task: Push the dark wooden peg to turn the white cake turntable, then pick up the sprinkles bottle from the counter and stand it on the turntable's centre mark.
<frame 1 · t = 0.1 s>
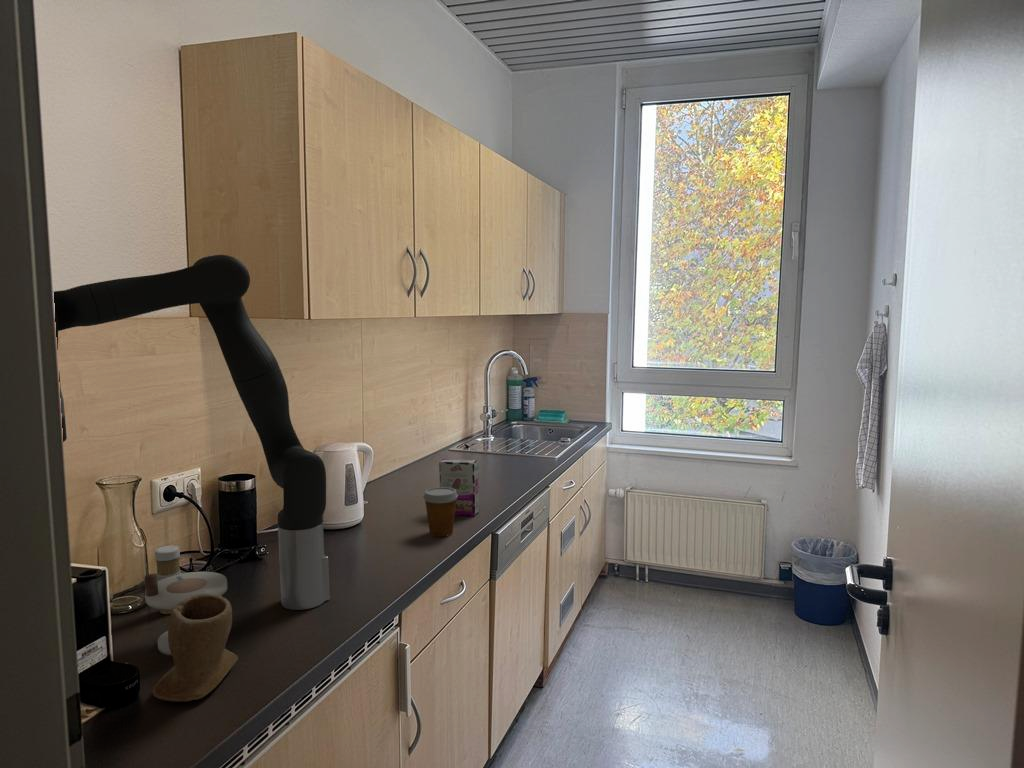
hand: (46, 509, 120), 29 cm above the worktop, tool pointing down, fingers open, 8 cm apart
turntable stand: (190, 641, 134), on the worktop
sprinkles bottle: (171, 611, 148), on the worktop
stone cup: (203, 683, 120), on the worktop
turntable: (186, 580, 133), point 12 cm above the worktop, hinge at 0.0°
disposable coffee cup: (441, 534, 196), on the worktop
candy bar box: (459, 513, 215), on the worktop
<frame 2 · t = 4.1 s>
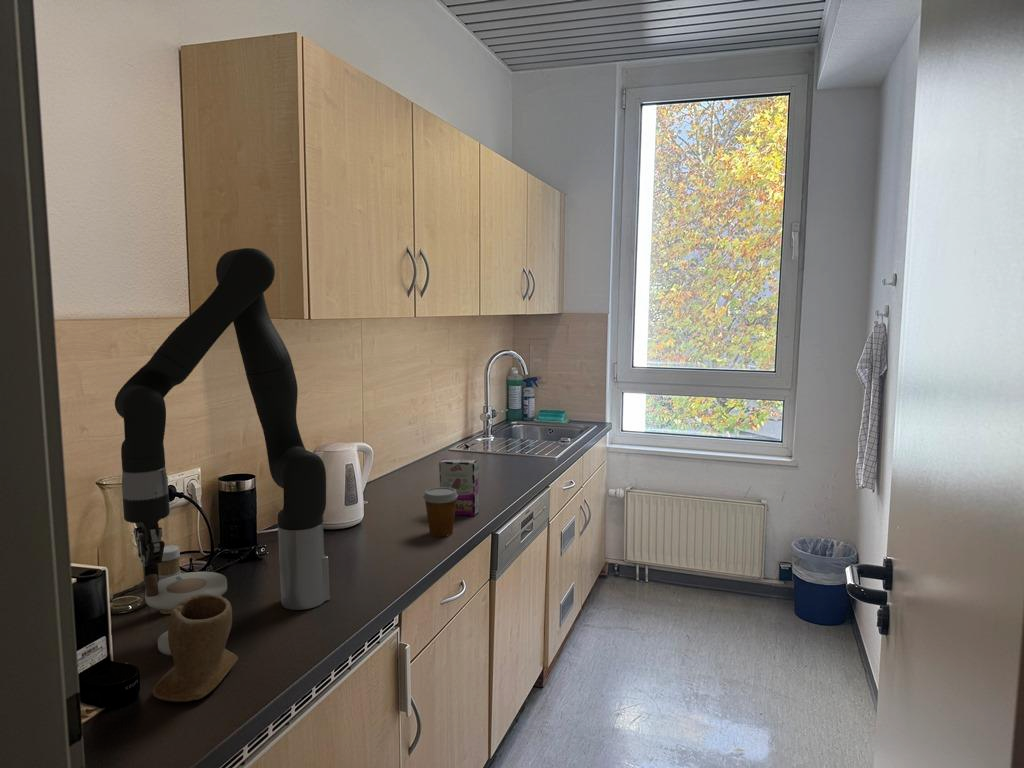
hand: (151, 583, 132), 12 cm above the worktop, tool pointing down, fingers closed
turntable: (186, 580, 133), point 12 cm above the worktop, hinge at 1.8°, touching gripper
everything else where it was.
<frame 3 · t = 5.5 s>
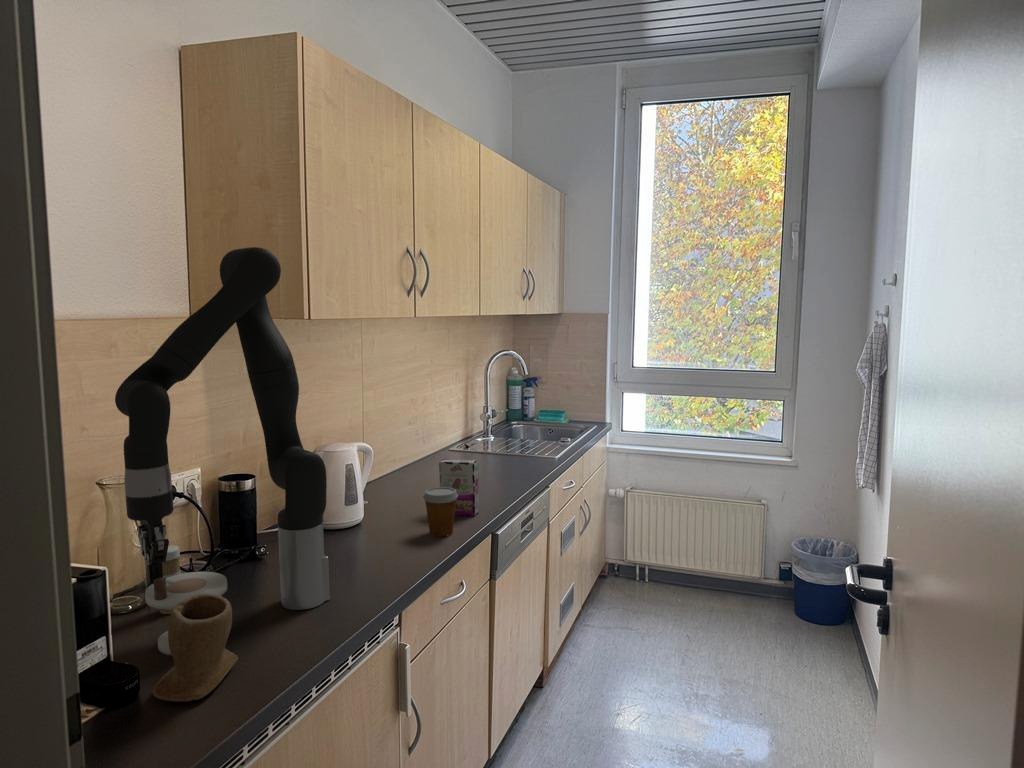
hand: (155, 581, 130), 13 cm above the worktop, tool pointing down, fingers closed
turntable: (186, 580, 133), point 12 cm above the worktop, hinge at 29.2°
everything else where it was.
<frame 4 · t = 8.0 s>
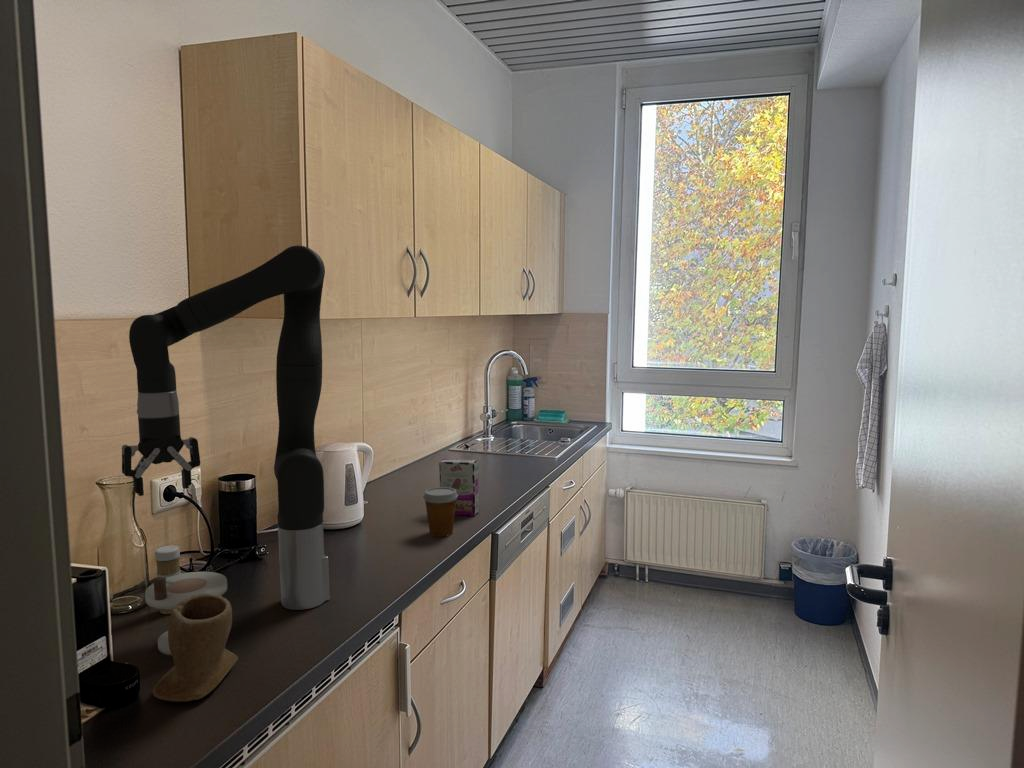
hand: (163, 491, 145), 26 cm above the worktop, tool pointing down, fingers open, 8 cm apart
nothing on the worktop moved.
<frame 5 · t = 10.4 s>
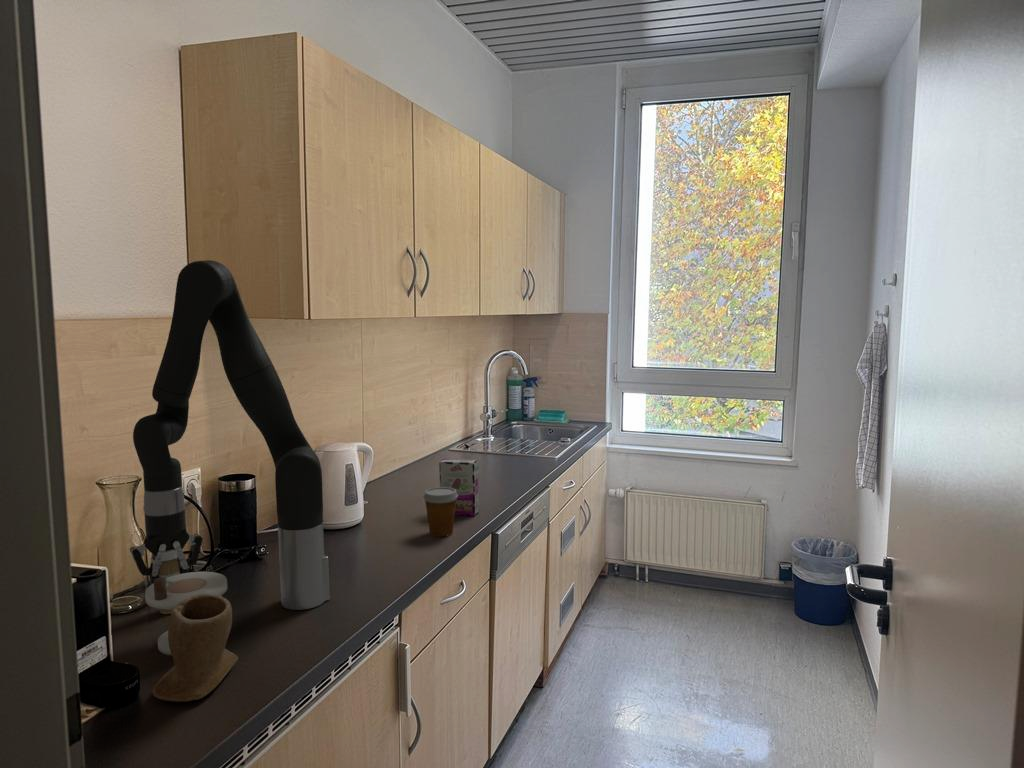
hand: (169, 588, 147), 5 cm above the worktop, tool pointing down, fingers closed on sprinkles bottle, 4 cm apart
sprinkles bottle: (171, 611, 148), on the worktop, touching gripper
everything else where it was.
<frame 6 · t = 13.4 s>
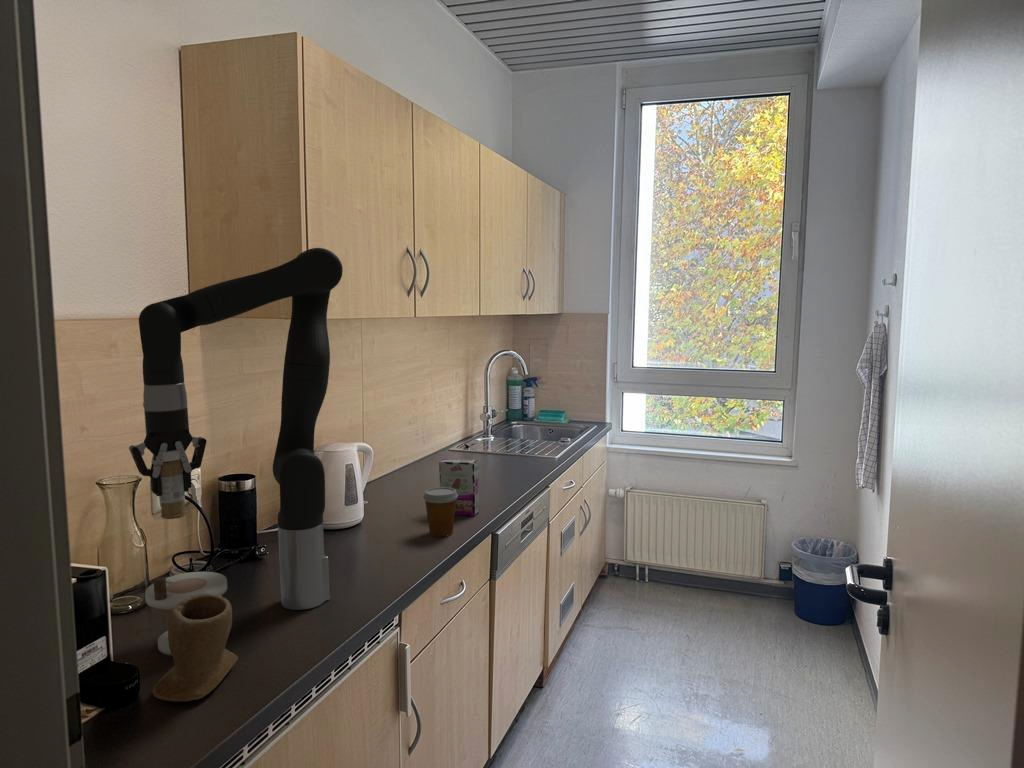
hand: (172, 492, 138), 27 cm above the worktop, tool pointing down, fingers closed on sprinkles bottle, 4 cm apart
sprinkles bottle: (173, 517, 139), point 22 cm above the worktop, touching gripper
everything else where it was.
when the fingers open (17 cm above the worktop, at t = 16.2 s): sprinkles bottle drops 1 cm, resting on turntable.
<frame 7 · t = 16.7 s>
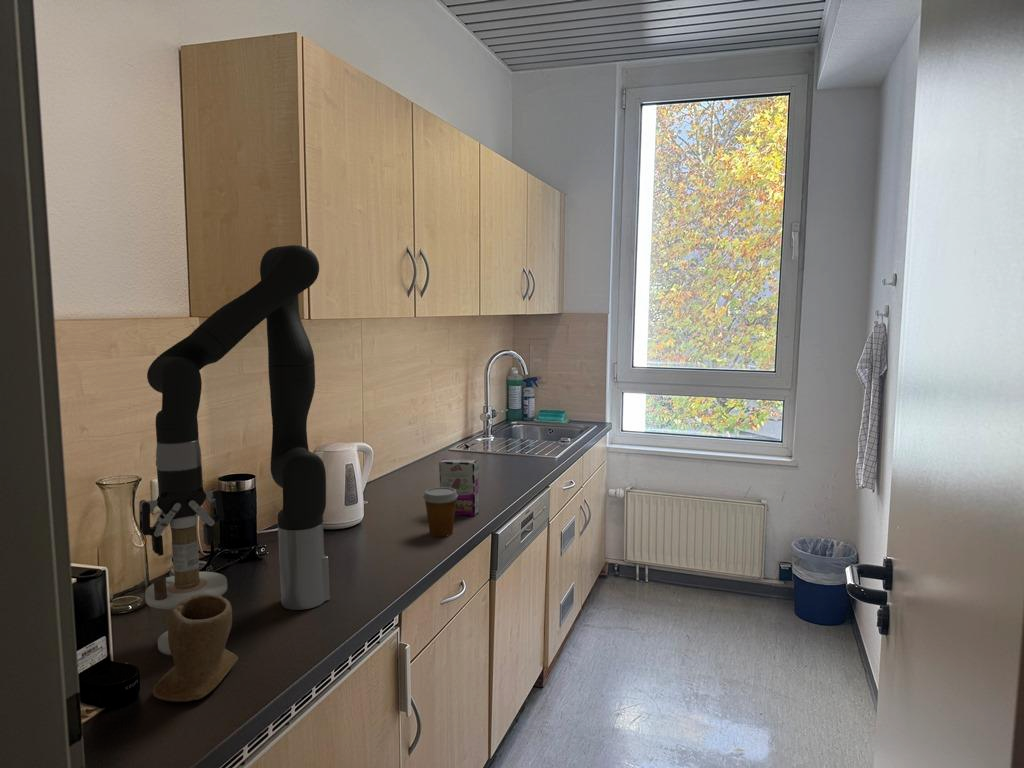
hand: (184, 549, 132), 18 cm above the worktop, tool pointing down, fingers open, 8 cm apart
sprinkles bottle: (187, 585, 133), point 11 cm above the worktop, touching turntable
turntable: (186, 580, 133), point 12 cm above the worktop, hinge at 29.2°, touching sprinkles bottle
everything else where it was.
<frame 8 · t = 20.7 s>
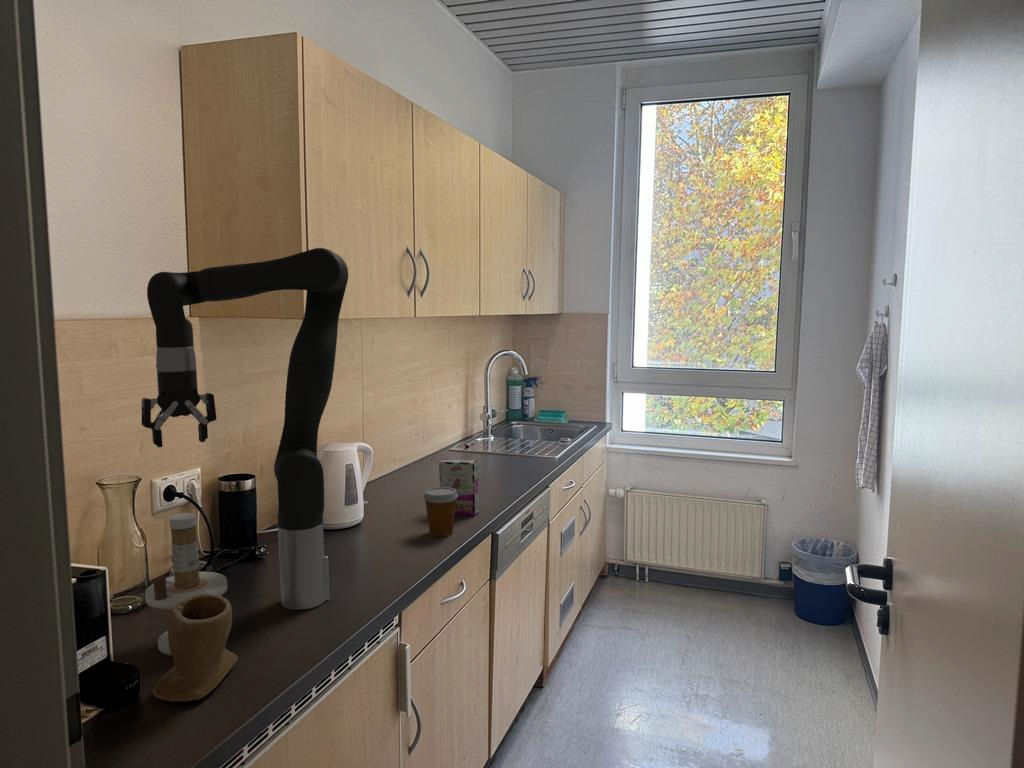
hand: (181, 444, 150), 34 cm above the worktop, tool pointing down, fingers open, 8 cm apart
nothing on the worktop moved.
at the end: sprinkles bottle 0.1 cm off-centre on the turntable, point 10.9 cm above the turntable's base; sprinkles bottle tilted 0°; turntable at +29° (first picture: +0°) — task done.
